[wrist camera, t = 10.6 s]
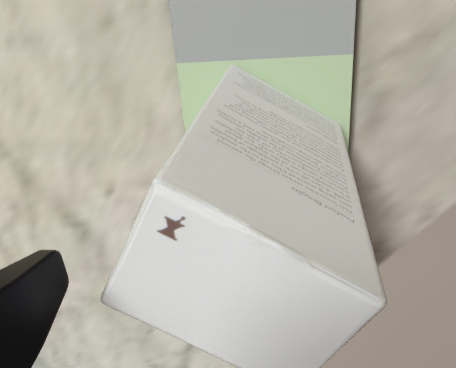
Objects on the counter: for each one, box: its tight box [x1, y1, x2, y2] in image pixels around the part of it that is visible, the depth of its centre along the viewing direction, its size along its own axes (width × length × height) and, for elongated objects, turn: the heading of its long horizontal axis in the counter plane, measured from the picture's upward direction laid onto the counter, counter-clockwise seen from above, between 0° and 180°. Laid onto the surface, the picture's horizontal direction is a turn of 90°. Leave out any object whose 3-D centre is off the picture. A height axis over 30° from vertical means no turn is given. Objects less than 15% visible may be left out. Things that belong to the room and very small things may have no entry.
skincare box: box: [101, 65, 387, 368], centre depth 15 cm, size 6×4×12 cm
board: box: [168, 0, 356, 151], centre depth 19 cm, size 8×14×1 cm, turn 4°
